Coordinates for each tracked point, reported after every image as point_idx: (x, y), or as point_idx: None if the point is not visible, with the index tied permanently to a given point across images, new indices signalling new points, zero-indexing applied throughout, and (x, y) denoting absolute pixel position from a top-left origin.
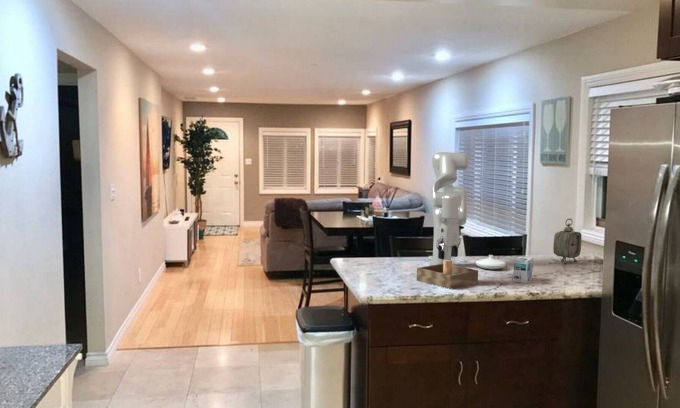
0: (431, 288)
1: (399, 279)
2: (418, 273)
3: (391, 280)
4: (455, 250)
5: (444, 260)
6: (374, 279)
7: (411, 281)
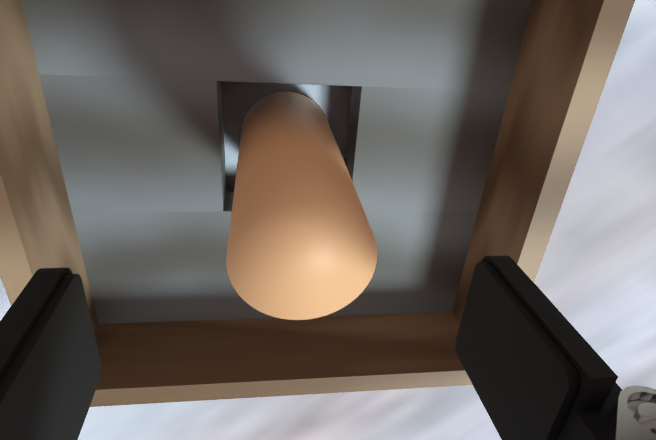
0: (637, 53)
1: None
2: None
3: None
4: (29, 406)
5: (332, 300)
6: None
7: None
